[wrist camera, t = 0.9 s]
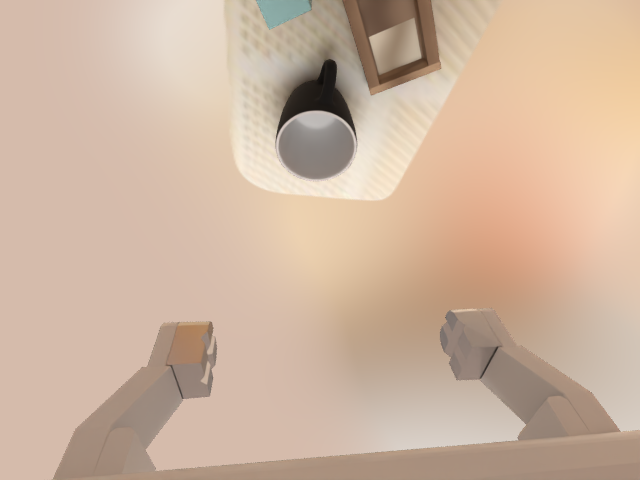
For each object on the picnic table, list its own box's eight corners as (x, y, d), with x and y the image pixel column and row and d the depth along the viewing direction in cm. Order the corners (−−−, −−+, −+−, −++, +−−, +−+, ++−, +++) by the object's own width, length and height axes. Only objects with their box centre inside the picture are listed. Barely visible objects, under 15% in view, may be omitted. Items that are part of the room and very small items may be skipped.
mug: (340, 142, 50) (344, 187, 43) (276, 129, 48) (270, 174, 41) (367, 52, 41) (378, 91, 34) (291, 33, 39) (286, 70, 33)
